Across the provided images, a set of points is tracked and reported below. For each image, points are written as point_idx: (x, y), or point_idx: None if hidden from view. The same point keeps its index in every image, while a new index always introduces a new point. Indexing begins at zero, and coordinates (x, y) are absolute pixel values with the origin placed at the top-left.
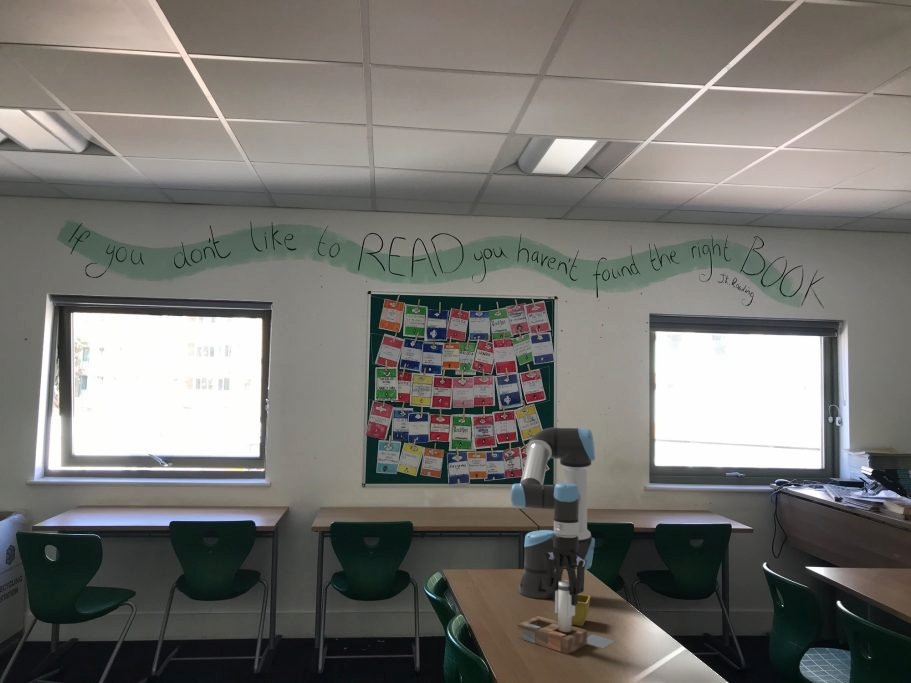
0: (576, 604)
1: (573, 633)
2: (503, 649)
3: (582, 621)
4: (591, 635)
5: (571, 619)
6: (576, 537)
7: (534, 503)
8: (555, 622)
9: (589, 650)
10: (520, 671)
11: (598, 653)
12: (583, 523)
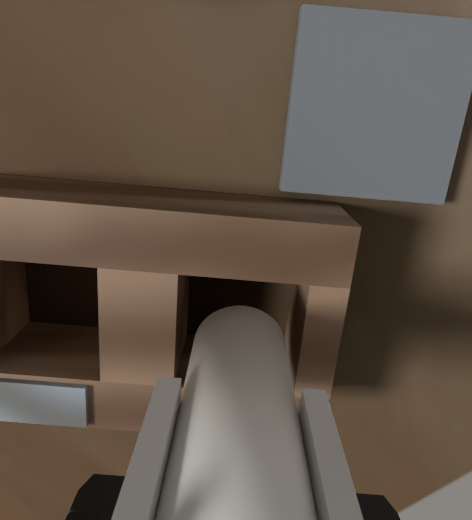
0: (384, 509)
1: (304, 340)
2: (33, 472)
3: None
4: (304, 32)
5: (289, 374)
6: None
7: None
8: (96, 231)
9: (363, 232)
10: None
11: (421, 239)
12: None
